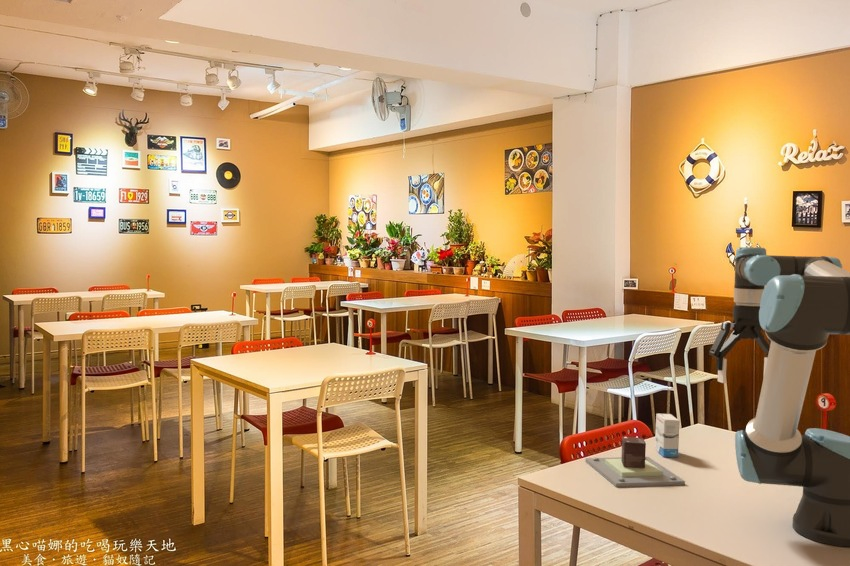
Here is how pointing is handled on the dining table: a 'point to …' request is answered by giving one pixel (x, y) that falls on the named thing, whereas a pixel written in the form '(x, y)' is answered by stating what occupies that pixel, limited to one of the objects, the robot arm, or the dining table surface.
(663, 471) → the board
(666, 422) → the ink box
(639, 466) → the box
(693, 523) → the dining table surface
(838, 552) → the dining table surface
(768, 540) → the dining table surface
